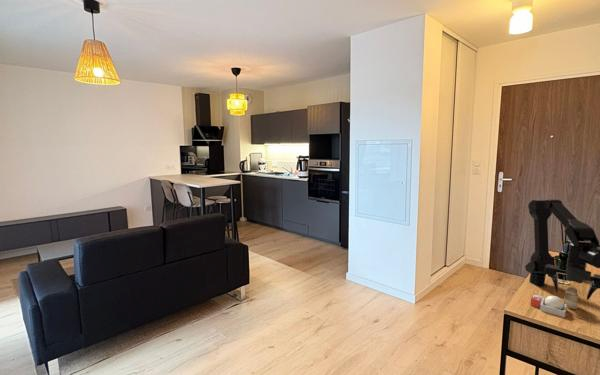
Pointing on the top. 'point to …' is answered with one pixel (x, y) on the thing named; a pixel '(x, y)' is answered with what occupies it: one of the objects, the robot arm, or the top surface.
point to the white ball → (554, 302)
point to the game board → (552, 310)
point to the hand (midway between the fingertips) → (571, 295)
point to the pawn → (571, 297)
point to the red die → (535, 301)
